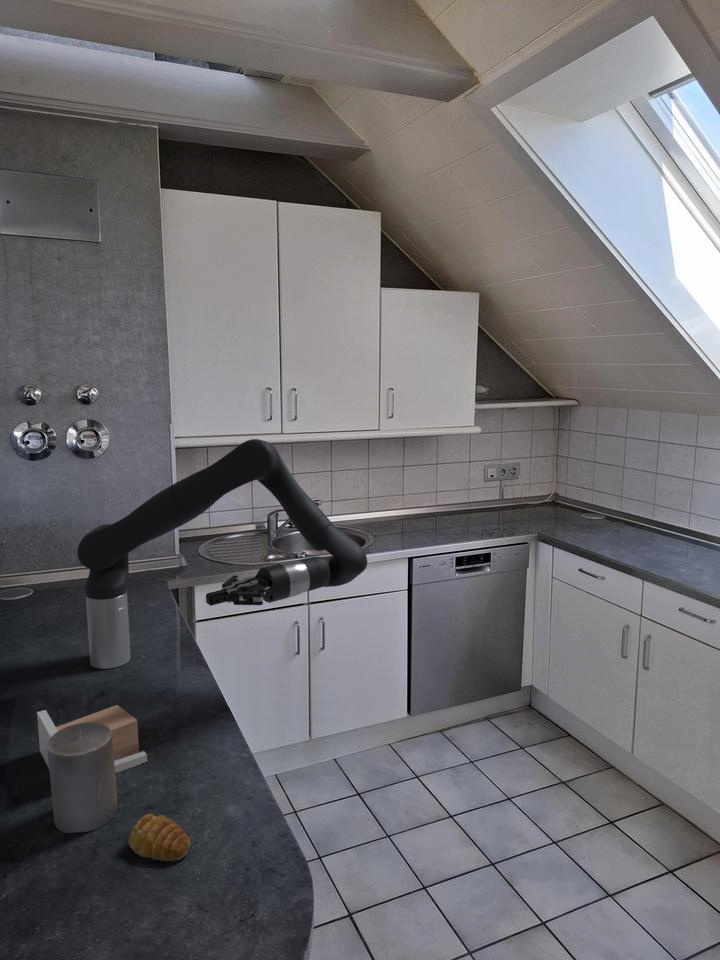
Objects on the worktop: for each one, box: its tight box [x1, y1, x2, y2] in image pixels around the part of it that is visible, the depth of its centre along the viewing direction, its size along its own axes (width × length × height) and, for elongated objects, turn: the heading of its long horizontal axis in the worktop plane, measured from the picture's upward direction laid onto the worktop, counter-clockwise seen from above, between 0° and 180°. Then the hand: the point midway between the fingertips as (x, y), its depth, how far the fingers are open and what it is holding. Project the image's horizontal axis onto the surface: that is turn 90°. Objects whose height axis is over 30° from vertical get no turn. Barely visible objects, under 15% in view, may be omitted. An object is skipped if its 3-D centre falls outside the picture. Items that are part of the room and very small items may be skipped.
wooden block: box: [55, 704, 140, 761], centre depth 128 cm, size 8×12×7 cm, turn 135°
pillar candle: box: [47, 722, 119, 834], centre depth 112 cm, size 10×10×15 cm
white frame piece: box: [36, 709, 148, 774], centre depth 128 cm, size 15×15×8 cm
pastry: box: [127, 813, 191, 862], centre depth 106 cm, size 9×7×4 cm
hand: (207, 599), depth 139 cm, fingers closed
